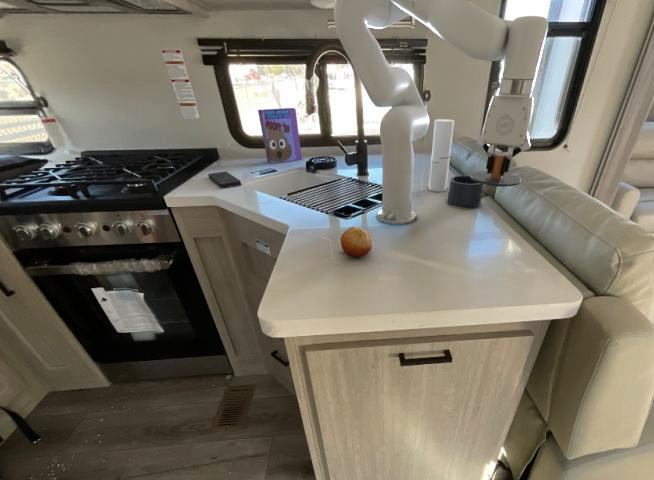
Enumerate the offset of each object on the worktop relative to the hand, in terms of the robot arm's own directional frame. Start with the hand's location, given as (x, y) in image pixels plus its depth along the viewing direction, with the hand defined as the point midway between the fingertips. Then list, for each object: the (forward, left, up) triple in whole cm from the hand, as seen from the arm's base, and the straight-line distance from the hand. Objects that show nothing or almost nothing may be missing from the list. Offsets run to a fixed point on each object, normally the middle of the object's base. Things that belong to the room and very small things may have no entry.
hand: (496, 172), depth 84 cm
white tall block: (+39, +29, -18) cm, 52 cm away
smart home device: (+2, +113, -18) cm, 115 cm away
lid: (0, 0, -2) cm, 2 cm away
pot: (+27, +14, -18) cm, 35 cm away
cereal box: (+45, +118, -18) cm, 128 cm away
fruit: (-27, +26, -18) cm, 42 cm away
